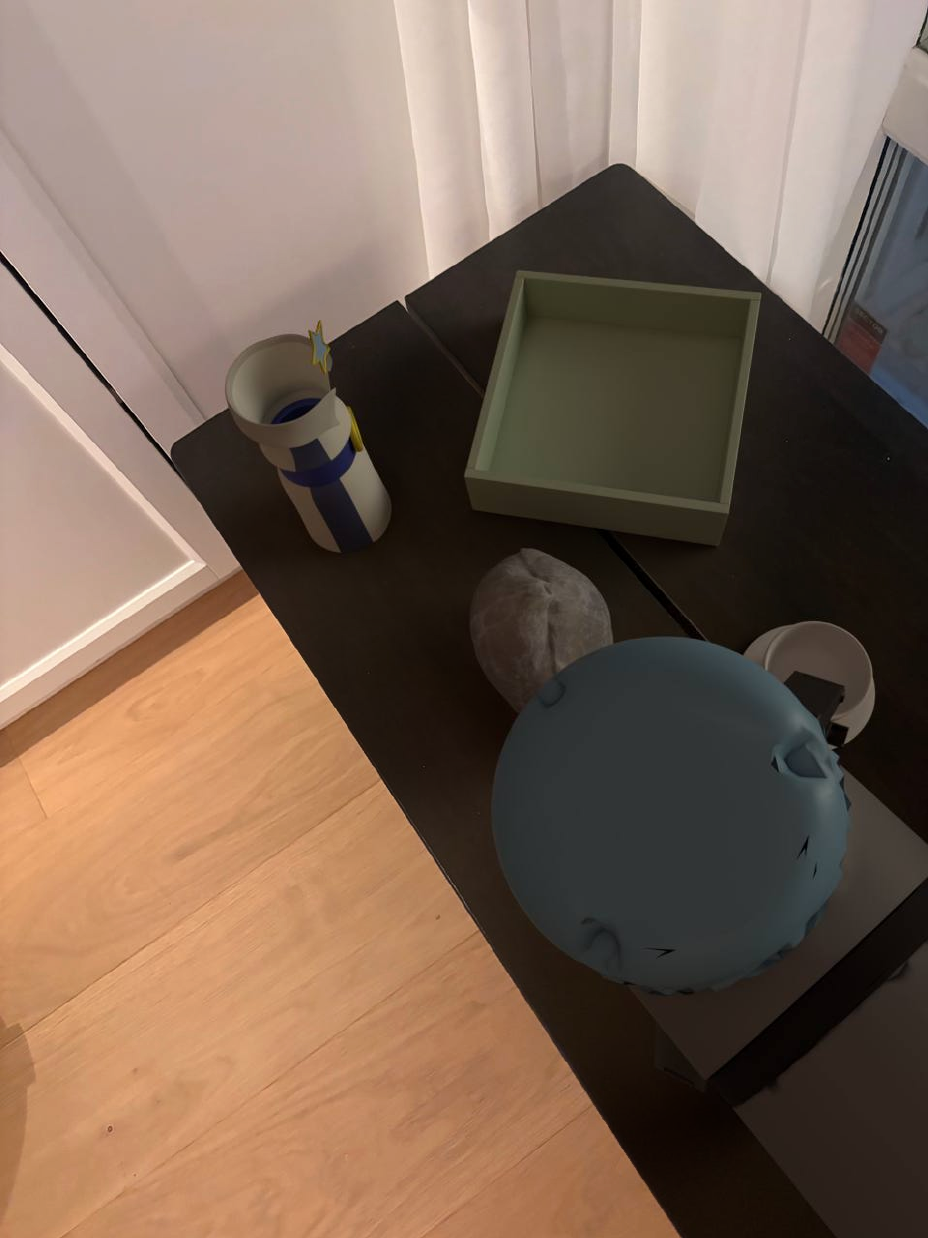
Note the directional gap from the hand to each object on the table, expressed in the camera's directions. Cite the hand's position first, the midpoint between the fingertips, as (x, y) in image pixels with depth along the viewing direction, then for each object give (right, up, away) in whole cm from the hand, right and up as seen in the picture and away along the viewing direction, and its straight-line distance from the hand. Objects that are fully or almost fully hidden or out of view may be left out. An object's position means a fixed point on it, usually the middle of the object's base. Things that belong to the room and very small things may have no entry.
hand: (763, 879), depth 51 cm
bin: (-4, +32, +28) cm, 43 cm away
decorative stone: (-10, +10, +21) cm, 26 cm away
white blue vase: (-27, +24, +29) cm, 46 cm away
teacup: (+9, +9, +18) cm, 22 cm away
